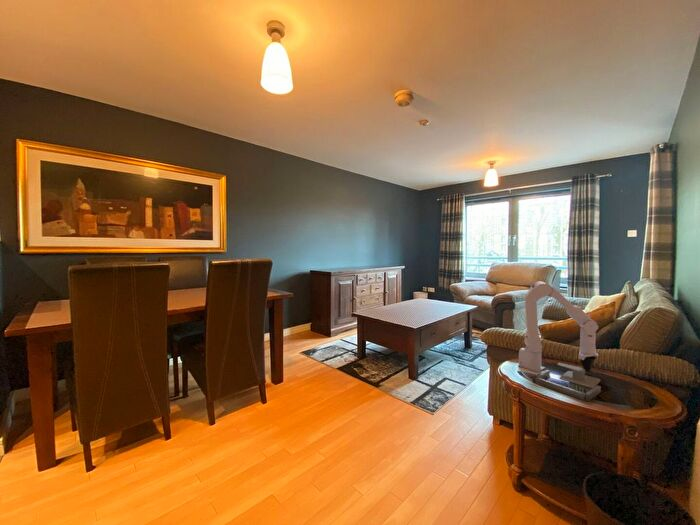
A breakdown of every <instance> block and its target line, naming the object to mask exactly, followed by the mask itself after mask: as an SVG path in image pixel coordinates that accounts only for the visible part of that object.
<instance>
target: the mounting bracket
mask: <svg viewBox="0 0 700 525" xmlns="http://www.w3.org/2000/svg"><path fill="white" fill-rule="evenodd" d="M550 373H551V371H550V370H549V369H546V370H544V371H541V372H539V373H537V374H536V375H534V376H532V383H534V384H537V385H540V386H542V387H546V388H548V389H550V390H554V391H557V392H559V393H562V394H565V395H567V396H571V397H573V398H576V399H579V400H582V401H584V402H586V403H588V402H589V401H591V400H592V399H593V398H595V397H596V396H598V395H599V394H600V393H601V391H602V390H601V389H602V386H600V385H598V384H597V385H596V386H595V387H594V388H590V389H589V390H588V391H587V392H586V393H585V392H583V391H578V390H577V389H573V388H570V387H567V386H565V385H562V384H558V383H555V382H553V381H549V380H546V378H548V377H550V376H551V374H550Z"/></svg>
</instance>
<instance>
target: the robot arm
mask: <svg viewBox="0 0 700 525" xmlns="http://www.w3.org/2000/svg"><path fill="white" fill-rule="evenodd" d="M544 297H545V298H546V297H549V298H553V299H554V300H556V301H557V303H559V304H560V305H561V306H563V307H564V308H565V309H566V314H567V315H568V316H569V317H570V318H571V319H572V320H573V321H575V323H577V324H578V326H579V327H580V332H579V333H580V334H579V337H580V338H579V351H578V352H579V354H578V359H579V360H580V362H581V365H582V368H583V369H585V372H588V373H590V372H591V370H592V367H593V364H594V362H595V360H596V359H597V357H599V353H597V349H596V342H597V341H596V340H597V339H596V338H597V337H596V336H597V334H596V332H597V330H599V327H600V326H599V325H598V323H597V322H596V320H594V319H592V318H591V315H590V314H587V313H586V312H585V311H584V309H583V307H581V306H579V305H573V304H572V303H571V302H570V301H569V300H568V299H567V298H566V297H565V296H564V295H563V294H562V293H561V292H560V291H559V290H557V289H556V288H554V287H553V286H551V285H550V284H549V283H546V282H544V281H541V280H539V281H535V282H534V283H533V284H530V288H529V289H528V291H527V293H526V294H525V296H524V305H525V306H524V307H525V308H524V309H525V321H526V322H525V323H526V324H525V325H526V331H525V337H524V340H523V341H524V344H525V345H526V346H525V347H521V348H520V349H519V351H518V364H517V367H521V368H524V369H526V370H530V371H533V372H535V373H538V372H540V371H542V370H544V369H546V367H545V366H542V350H543V343H542V342H541V339H540V335H539V325H538V324H539V323H538V320H539V319H538V306H537V302H538V301H539V300H541V299H542V298H544Z"/></svg>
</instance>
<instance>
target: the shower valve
mask: <svg viewBox="0 0 700 525" xmlns="http://www.w3.org/2000/svg"><path fill="white" fill-rule="evenodd" d="M556 365H557V366H558V367H563V368H566V369H568V370H567V371H566V372H565V373H563V374H562V375H561V376H559V379H560V380H562V381H565V382H569V383H572V384H575V385H579V386H582V387H585V388H589V389H593V388H594V387H595V386H597V385H598V384H599V383H600V382H601V379H600V378H598V377H594V376H590V375H586V371H585V369H583V367H580V366H575V365H570V364H566V363H561V362H558V363H557V364H556Z"/></svg>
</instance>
